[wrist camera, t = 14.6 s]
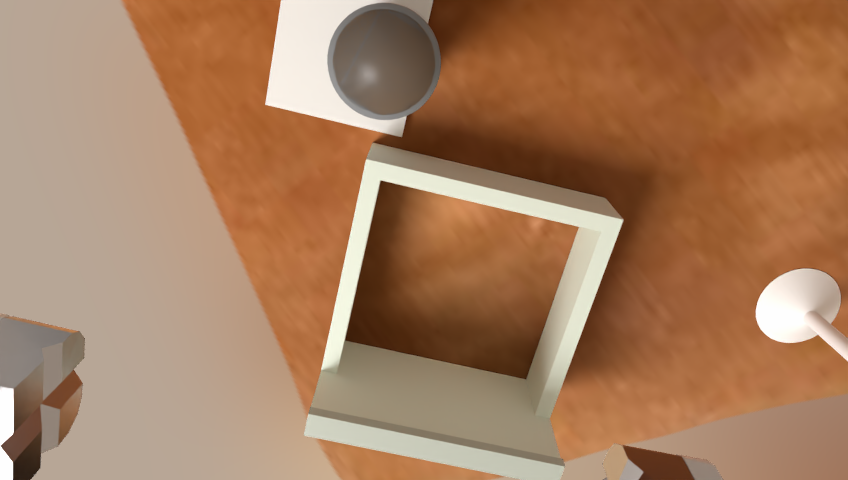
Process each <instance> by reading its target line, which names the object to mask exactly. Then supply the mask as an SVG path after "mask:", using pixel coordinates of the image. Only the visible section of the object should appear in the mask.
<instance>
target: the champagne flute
mask: <svg viewBox="0 0 848 480" xmlns="http://www.w3.org/2000/svg"><path fill="white" fill-rule="evenodd" d="M840 304H841V294H840V289H839V287H838V285H837V283H836V282H835V280H834V279H833V278H832V277H831V276H829V275H828V274H826V273H825V272H822V271H820V270H816V269H797V270H793V271H790V272H787V273H785V274H783V275H781V276H779V277H777V278H776V279H775V280H773V281H772V282H771V283H770V284H769V285H768V286H767V287H766V288H765V289H764V291H763V292H762V294H761V295H760V298H759V300H758V302H757V307H756V319H757V323H758V325H759V327H760V329H761V330H762V331H763V332H764V333H765V334H766V335H767V336H768V337H770V338H771V339H774V340H776V341H780V342H785V343H795V342H801V341H805V340H808V339H811V338H813V337H815V336H816V335H819V336H820V337H821V338H822V339H824V340H825V341H826V342H827V343H828V344H829V345H830V346H831V347H832V348H834V349H835V350H836V351H837V352H838V353H839V354H840V355H841V356H843V357H844V358H845V359H846V360H847V361H848V338H847V337H846V336H844V335H843V334H842V333H841V332H840V331H838V330H837V329H836V328H835V327H834V326H832V325H831V323H832V321H833V320H834V319H835V317H836V315H837V313H838V311H839V308H840Z"/></svg>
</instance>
